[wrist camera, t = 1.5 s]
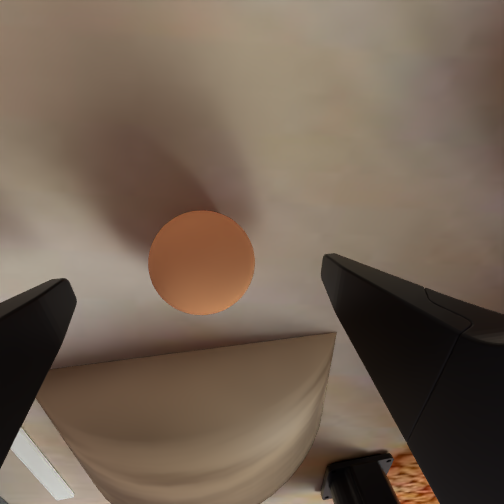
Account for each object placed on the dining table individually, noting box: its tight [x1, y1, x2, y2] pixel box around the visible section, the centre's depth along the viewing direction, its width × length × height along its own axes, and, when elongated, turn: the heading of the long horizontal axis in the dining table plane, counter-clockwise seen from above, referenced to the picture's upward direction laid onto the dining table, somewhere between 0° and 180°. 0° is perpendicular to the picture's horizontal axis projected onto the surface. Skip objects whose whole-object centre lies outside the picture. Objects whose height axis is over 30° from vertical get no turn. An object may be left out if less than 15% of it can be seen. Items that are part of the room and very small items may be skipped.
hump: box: [36, 332, 337, 504], centre depth 23 cm, size 10×22×22 cm, turn 91°
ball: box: [148, 210, 255, 315], centre depth 10 cm, size 4×4×4 cm
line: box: [10, 428, 74, 500], centre depth 16 cm, size 18×1×1 cm, turn 1°
